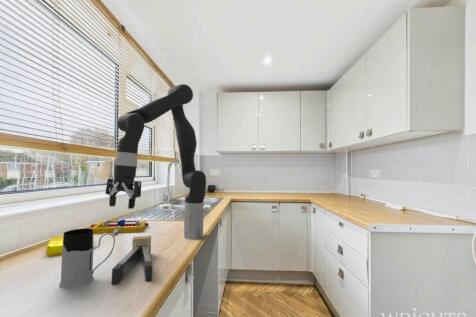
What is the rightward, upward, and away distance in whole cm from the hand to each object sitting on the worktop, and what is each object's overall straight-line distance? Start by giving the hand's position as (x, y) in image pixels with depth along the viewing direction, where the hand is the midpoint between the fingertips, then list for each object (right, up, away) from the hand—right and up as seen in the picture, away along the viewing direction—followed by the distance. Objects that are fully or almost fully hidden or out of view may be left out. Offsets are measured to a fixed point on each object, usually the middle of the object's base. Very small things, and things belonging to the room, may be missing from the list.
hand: (121, 207), depth 90 cm
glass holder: (-2, -19, -18) cm, 26 cm away
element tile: (-27, -20, +10) cm, 35 cm away
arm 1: (+7, -19, -10) cm, 23 cm away
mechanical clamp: (-21, -21, +37) cm, 48 cm away
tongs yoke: (+7, -19, +2) cm, 21 cm away
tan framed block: (+7, -19, +2) cm, 21 cm away
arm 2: (+13, -19, -9) cm, 25 cm away
